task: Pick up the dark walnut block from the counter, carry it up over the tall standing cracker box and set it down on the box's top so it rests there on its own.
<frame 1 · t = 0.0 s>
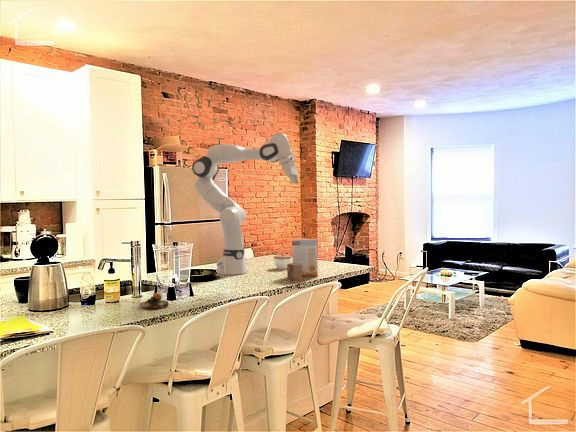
hand: (295, 183, 266), 52 cm above the countertop, tool tilted 20°, fingers open, 8 cm apart
lidded jar: (282, 268, 291), on the countertop
walnut block: (294, 280, 251), on the countertop
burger: (153, 307, 197), on the countertop
cracker box: (305, 275, 265), on the countertop
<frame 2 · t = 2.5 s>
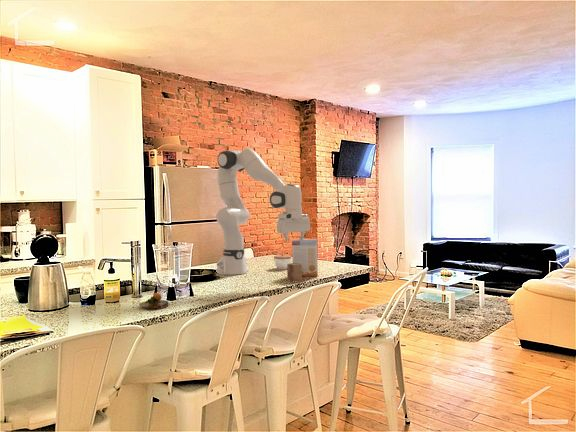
hand: (294, 240, 249), 21 cm above the countertop, tool pointing down, fingers open, 8 cm apart
nothing on the countertop moved.
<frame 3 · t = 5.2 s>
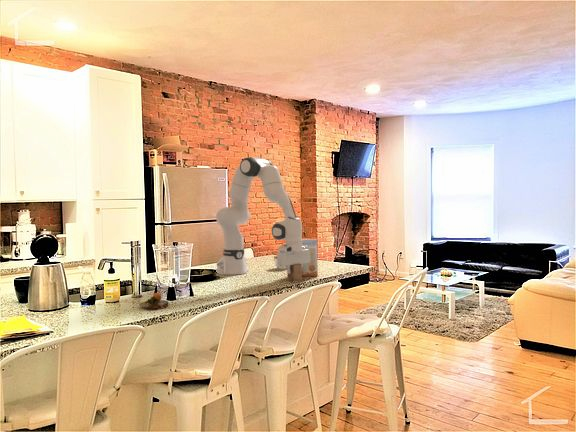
hand: (294, 272, 250), 4 cm above the countertop, tool pointing down, fingers closed on walnut block, 5 cm apart
walnut block: (294, 280, 251), on the countertop, touching gripper
cracker box: (305, 275, 265), on the countertop, touching arm
everything else where it was.
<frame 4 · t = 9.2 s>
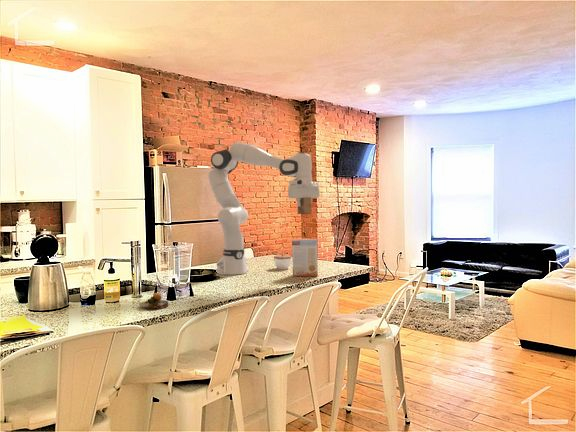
hand: (304, 206, 263), 39 cm above the countertop, tool pointing down, fingers closed on walnut block, 5 cm apart
walnut block: (304, 213, 263), point 35 cm above the countertop, touching gripper
cracker box: (305, 275, 265), on the countertop
everything else where it was.
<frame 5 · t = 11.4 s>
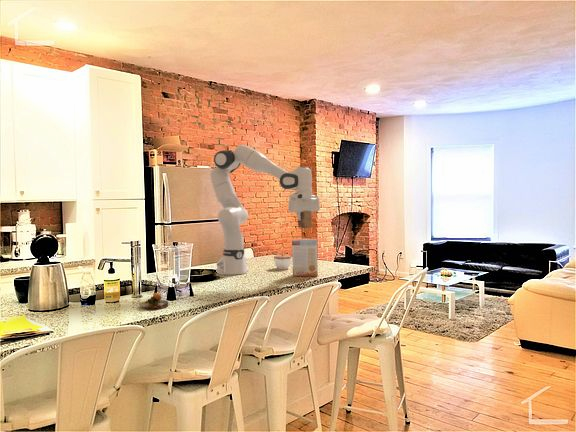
hand: (304, 220, 264), 31 cm above the countertop, tool pointing down, fingers closed on walnut block, 5 cm apart
walnut block: (304, 227, 264), point 27 cm above the countertop, touching gripper
everything else where it was.
when the fingers open (26 cm above the countertop, at t = 13.1 s): walnut block stays where it is, resting on cracker box.
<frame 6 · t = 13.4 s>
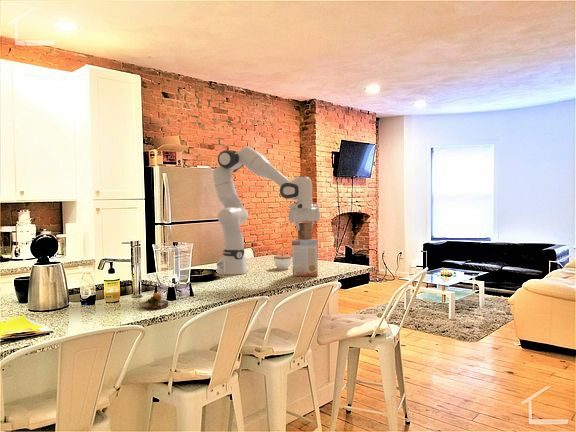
hand: (304, 229, 264), 26 cm above the countertop, tool pointing down, fingers open, 7 cm apart
walnut block: (304, 238, 264), point 21 cm above the countertop, touching cracker box
cracker box: (305, 275, 265), on the countertop, touching walnut block
everything else where it was.
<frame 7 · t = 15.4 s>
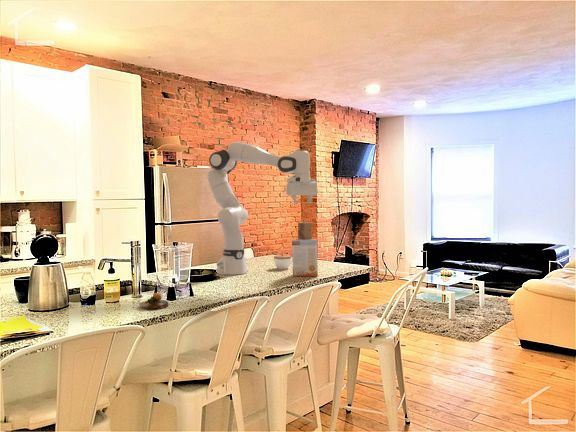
hand: (302, 203, 263), 41 cm above the countertop, tool pointing down, fingers open, 8 cm apart
nothing on the countertop moved.
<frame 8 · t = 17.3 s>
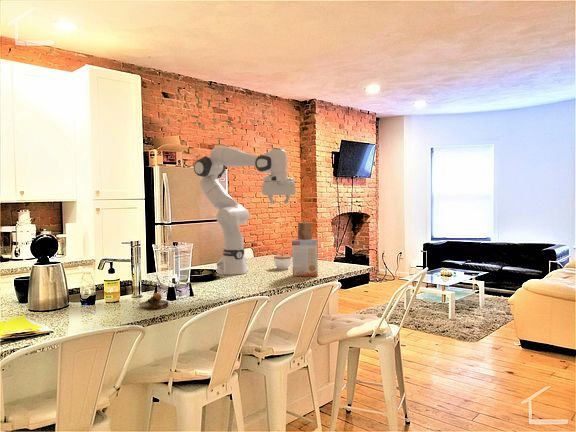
hand: (279, 203, 255), 41 cm above the countertop, tool pointing down, fingers open, 8 cm apart
nothing on the countertop moved.
at the end: walnut block 0.0 cm from the cracker box (horizontally); walnut block point 20.9 cm above the countertop; walnut block touching cracker box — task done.
